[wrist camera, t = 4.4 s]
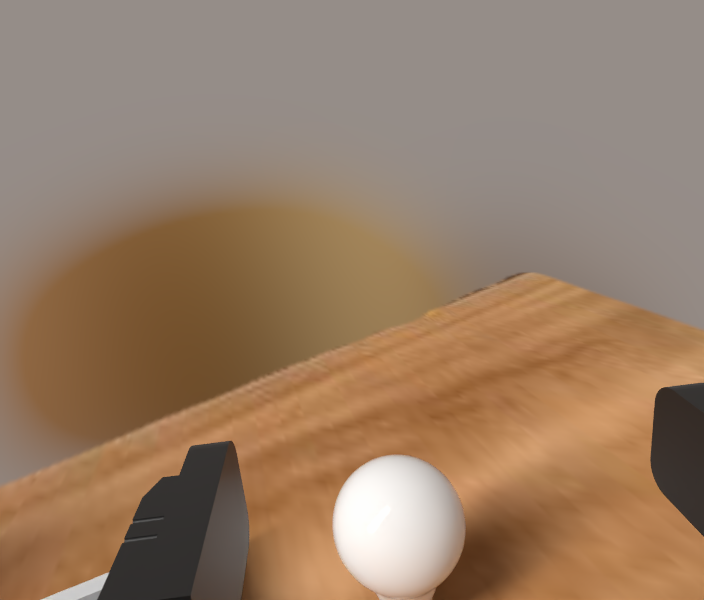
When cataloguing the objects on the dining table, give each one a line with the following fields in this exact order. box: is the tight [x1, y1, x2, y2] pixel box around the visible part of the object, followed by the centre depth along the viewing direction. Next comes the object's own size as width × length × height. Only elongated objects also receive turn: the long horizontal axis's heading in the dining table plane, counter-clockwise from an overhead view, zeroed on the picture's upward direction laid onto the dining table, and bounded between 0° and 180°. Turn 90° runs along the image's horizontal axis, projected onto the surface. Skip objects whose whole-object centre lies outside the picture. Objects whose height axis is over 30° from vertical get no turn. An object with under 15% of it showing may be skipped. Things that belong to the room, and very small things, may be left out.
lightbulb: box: [333, 455, 466, 600], centre depth 28 cm, size 6×6×11 cm
